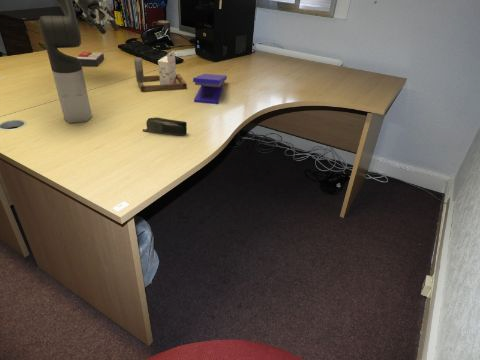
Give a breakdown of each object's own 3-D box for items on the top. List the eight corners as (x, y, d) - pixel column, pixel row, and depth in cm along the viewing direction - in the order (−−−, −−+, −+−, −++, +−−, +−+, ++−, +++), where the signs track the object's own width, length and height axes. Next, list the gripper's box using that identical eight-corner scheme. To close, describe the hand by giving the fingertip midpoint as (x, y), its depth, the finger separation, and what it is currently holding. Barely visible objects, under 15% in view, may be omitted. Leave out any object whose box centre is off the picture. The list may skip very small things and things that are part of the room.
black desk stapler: (187, 120, 113) (143, 115, 113) (185, 123, 111) (140, 118, 111) (187, 133, 116) (144, 128, 116) (185, 137, 114) (141, 132, 114)
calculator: (103, 52, 179) (95, 58, 167) (104, 60, 182) (97, 67, 169) (82, 51, 178) (72, 57, 166) (83, 59, 180) (74, 66, 168)
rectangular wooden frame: (186, 88, 151) (185, 61, 144) (139, 91, 144) (136, 63, 137) (179, 78, 161) (178, 52, 154) (135, 80, 154) (132, 54, 148)
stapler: (192, 102, 139) (192, 79, 133) (203, 81, 162) (203, 60, 156) (220, 105, 139) (220, 81, 133) (226, 83, 162) (227, 62, 156)
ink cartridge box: (166, 81, 158) (164, 48, 149) (176, 82, 157) (175, 50, 149) (159, 87, 151) (156, 53, 142) (169, 88, 150) (167, 54, 142)
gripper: (75, -7, 131) (104, 28, 135) (100, -10, 142) (126, 23, 146) (67, 6, 135) (96, 40, 139) (92, 2, 146) (118, 34, 150)
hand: (111, 31), depth 142 cm, fingers open, 8 cm apart
